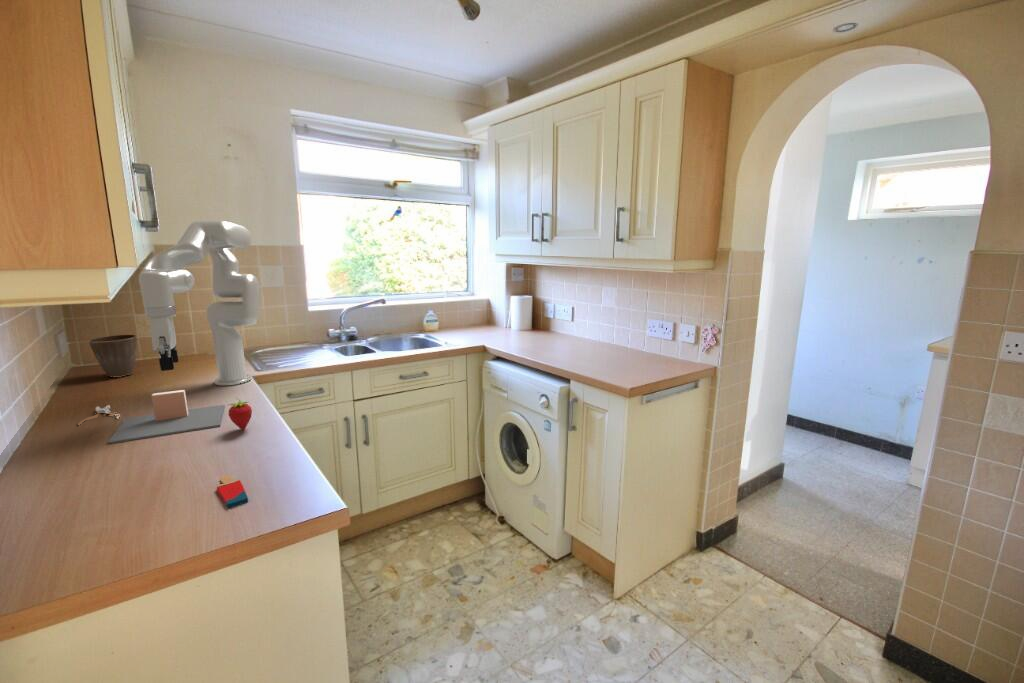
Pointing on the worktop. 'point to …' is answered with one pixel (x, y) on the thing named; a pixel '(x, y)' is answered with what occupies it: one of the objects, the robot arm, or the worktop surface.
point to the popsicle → (232, 492)
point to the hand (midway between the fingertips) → (170, 366)
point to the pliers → (105, 410)
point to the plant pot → (115, 353)
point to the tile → (170, 405)
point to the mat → (168, 424)
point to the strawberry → (240, 414)
